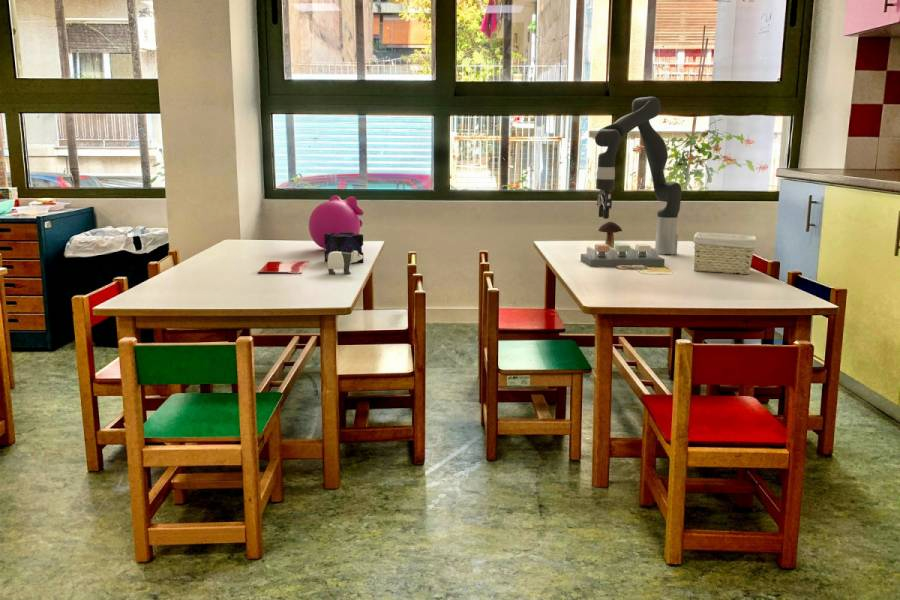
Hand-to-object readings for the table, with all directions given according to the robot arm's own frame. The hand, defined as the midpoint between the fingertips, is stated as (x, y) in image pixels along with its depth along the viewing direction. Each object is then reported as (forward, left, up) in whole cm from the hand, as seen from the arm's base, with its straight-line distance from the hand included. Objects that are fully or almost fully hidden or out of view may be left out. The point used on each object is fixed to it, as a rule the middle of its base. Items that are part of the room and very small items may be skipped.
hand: (603, 217), depth 329 cm
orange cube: (0, 0, -16) cm, 16 cm away
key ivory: (-18, 0, -16) cm, 24 cm away
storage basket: (-45, +20, -20) cm, 53 cm away
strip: (-9, +13, -20) cm, 25 cm away
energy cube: (+110, -7, -20) cm, 112 cm away
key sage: (-9, 0, -16) cm, 19 cm away
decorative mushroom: (-12, -28, -20) cm, 36 cm away
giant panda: (+109, +21, -20) cm, 113 cm away
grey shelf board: (-9, 0, -20) cm, 22 cm away
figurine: (+115, -42, -20) cm, 124 cm away
